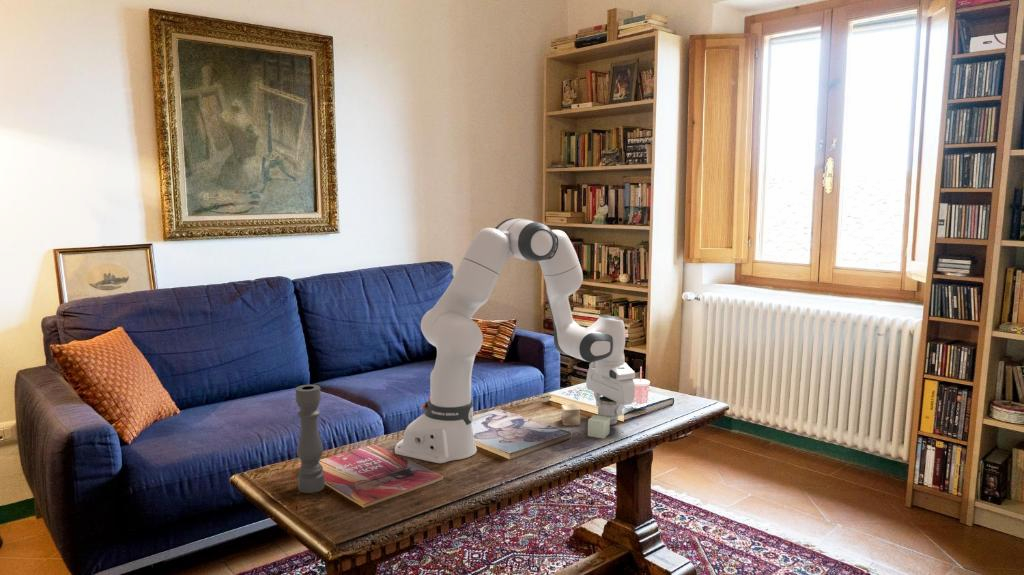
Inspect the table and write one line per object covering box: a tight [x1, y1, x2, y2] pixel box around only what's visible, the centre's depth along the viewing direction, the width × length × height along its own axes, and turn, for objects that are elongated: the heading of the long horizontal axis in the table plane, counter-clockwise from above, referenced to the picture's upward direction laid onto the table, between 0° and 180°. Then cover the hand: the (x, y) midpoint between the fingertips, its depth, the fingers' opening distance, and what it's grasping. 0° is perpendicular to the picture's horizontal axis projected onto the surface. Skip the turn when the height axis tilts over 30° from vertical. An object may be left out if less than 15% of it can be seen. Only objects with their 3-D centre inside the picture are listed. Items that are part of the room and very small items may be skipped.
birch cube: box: [560, 403, 581, 426], centre depth 223 cm, size 5×5×5 cm
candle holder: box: [295, 384, 326, 494], centre depth 173 cm, size 6×6×25 cm
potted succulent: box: [597, 395, 619, 426], centre depth 223 cm, size 6×6×8 cm
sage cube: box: [587, 414, 611, 439], centre depth 213 cm, size 5×5×5 cm
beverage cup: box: [632, 366, 651, 404], centre depth 237 cm, size 6×6×14 cm
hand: (608, 410), depth 224 cm, fingers open, 8 cm apart
